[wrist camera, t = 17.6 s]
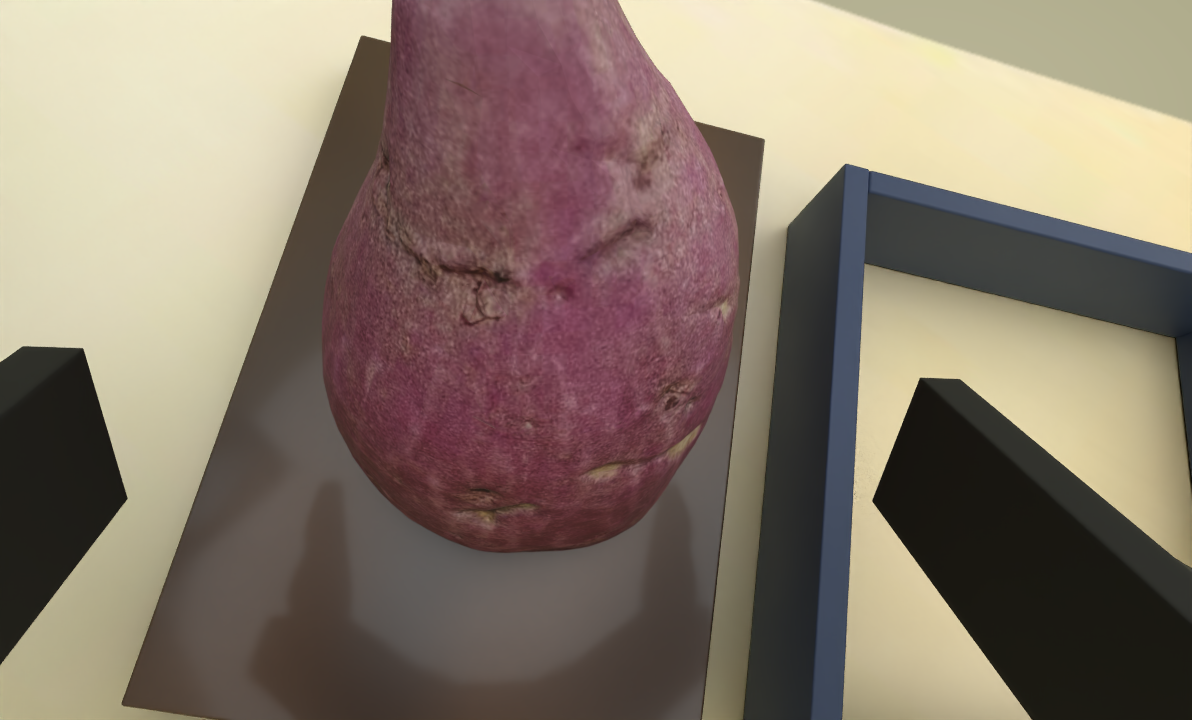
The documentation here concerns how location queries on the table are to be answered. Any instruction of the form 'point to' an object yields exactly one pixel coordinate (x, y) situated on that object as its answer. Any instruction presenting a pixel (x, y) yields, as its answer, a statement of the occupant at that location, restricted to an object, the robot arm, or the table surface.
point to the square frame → (831, 375)
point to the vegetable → (529, 278)
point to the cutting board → (419, 535)
